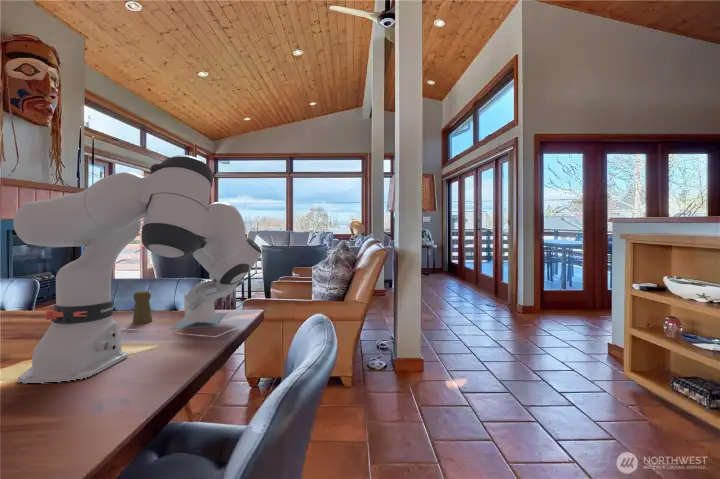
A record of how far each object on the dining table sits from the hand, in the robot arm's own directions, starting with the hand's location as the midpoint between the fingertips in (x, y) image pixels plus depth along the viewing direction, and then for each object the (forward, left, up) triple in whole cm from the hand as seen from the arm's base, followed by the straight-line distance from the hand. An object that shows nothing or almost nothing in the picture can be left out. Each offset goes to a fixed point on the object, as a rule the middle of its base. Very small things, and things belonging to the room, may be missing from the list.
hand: (198, 306), depth 133 cm
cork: (+6, +19, -7) cm, 21 cm away
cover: (0, 0, -4) cm, 4 cm away
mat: (+5, 0, -6) cm, 8 cm away
